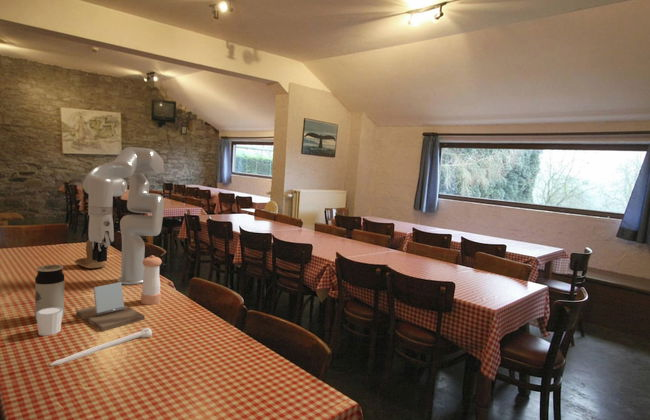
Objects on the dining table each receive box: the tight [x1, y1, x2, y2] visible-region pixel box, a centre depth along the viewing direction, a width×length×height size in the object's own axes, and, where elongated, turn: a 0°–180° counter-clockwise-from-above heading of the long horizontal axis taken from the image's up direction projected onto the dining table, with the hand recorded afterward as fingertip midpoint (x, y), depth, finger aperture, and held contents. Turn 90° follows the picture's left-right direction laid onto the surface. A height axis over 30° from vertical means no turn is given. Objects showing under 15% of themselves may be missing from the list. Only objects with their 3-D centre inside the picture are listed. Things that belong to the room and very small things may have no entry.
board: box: [75, 304, 145, 332], centre depth 130 cm, size 20×14×2 cm
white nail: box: [49, 327, 153, 367], centre depth 108 cm, size 28×4×3 cm, turn 147°
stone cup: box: [74, 238, 106, 269], centre depth 189 cm, size 15×12×15 cm
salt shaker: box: [140, 255, 163, 305], centre depth 146 cm, size 7×7×19 cm
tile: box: [93, 282, 125, 316], centre depth 130 cm, size 10×9×1 cm
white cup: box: [36, 307, 63, 337], centre depth 115 cm, size 7×7×7 cm
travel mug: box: [34, 264, 65, 321], centre depth 125 cm, size 8×8×18 cm
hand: (99, 260), depth 133 cm, fingers closed
